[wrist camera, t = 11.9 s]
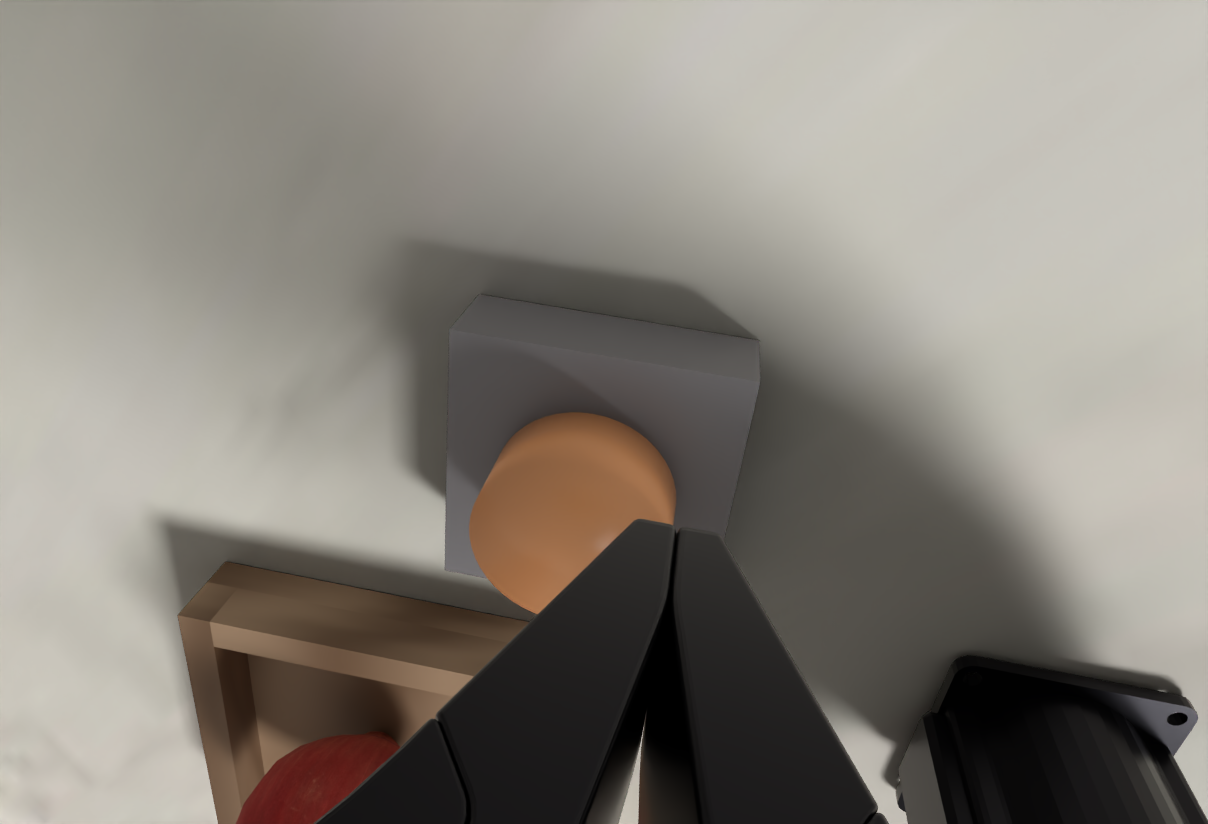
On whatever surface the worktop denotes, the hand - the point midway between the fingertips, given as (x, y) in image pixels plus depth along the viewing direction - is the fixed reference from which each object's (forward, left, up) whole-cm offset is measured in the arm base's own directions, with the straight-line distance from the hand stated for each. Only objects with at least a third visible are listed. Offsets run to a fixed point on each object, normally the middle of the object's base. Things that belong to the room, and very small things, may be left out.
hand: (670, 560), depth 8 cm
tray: (+8, +19, -12) cm, 23 cm away
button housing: (+2, +6, -12) cm, 14 cm away
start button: (+2, +6, -9) cm, 11 cm away
